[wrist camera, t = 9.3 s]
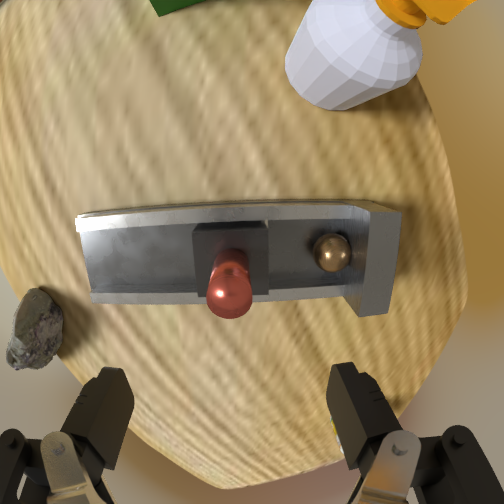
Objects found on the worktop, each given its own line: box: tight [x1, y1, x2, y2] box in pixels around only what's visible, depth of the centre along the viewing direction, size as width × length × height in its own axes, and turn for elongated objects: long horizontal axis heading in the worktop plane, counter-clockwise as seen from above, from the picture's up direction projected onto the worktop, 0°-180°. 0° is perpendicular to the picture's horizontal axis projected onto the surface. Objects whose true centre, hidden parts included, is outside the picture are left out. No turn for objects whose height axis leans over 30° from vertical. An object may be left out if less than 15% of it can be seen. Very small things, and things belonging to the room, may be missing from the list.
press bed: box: [75, 199, 402, 317], centre depth 24 cm, size 9×30×8 cm, turn 91°
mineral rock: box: [6, 288, 63, 370], centre depth 25 cm, size 13×11×10 cm
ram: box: [192, 221, 269, 319], centre depth 21 cm, size 6×6×10 cm
